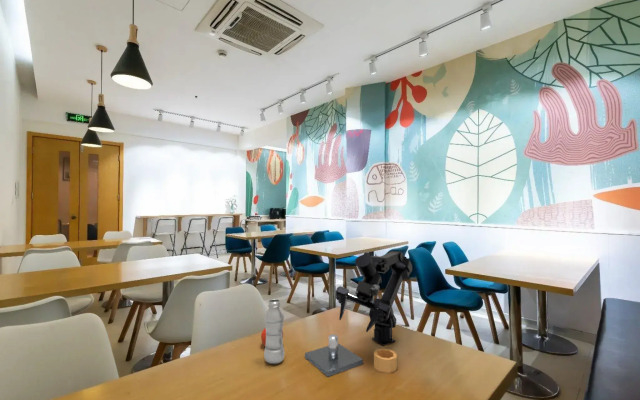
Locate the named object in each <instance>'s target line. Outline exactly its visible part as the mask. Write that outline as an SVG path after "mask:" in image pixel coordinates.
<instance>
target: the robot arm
mask: <svg viewBox="0 0 640 400" xmlns="http://www.w3.org/2000/svg"><path fill="white" fill-rule="evenodd" d="M354 262H355V265H356V267H357V270H358V272H359V273H360V274H359V275H361V276H362V277H363V279H362V280H359V281H358V284H357V287H356V290H355V295H353V294H351V293H350V289H348V288H346V287H344V286H341V285H340V286H337V288H336V289H335V300H336V301H338V304H340V309H339V321H341V320H342V319H343V316H344V314H345V311H346V307H347V303H348V302H349V301H351V302H353V303H356V304H358V305H360V306H363V307H365V308H367V309H369V310H368V311H369V312H368V314H369V323H368V325H367V327H366V329H365V332H366V333H368V331H370V329H372V327H374V329H373V337H372V338H371V340H372V341H373V342H376V343H378V344H380V345H382V346H386V345H390V344H392V343H395V342H396V339H394V338H393V329H395V328H396V326H397V318H396V316H395V314H394V308H393V304H394V302H395V299H396V297H397V295H398V293H399V290H400V288H401V285H402V283H403V281H405V280H406V279H407V278H409V276H410V274H411V273H412V272H413V264H412V262H411V260H410V259H409V258H408V257H406V256H405V255H404V252H403V251H397V250H392V251H390V252H388V253H386V254H384V255H383V254H382V255H381V256H379V255H371V253H370V252H364V253H363V254H361V255H359V256H358V257H357V258H356V259H355V261H354ZM389 270H391V276H390V278H389V280H388V283H387V285H386V287H385V289H384V291H383V294H382V295H381V298H375V299H374V297H375V296H376V297H377V296H378V295H379V291H380V288H381V287H380V284H382V282H383V281H382V276H381V274H380V273H382V274H386V273H387V272H388V271H389ZM373 300H374V301H373Z"/></svg>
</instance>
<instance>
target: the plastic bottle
mask: <svg viewBox="0 0 640 400" xmlns="http://www.w3.org/2000/svg"><path fill="white" fill-rule="evenodd" d="M267 306H268V309H267V310H266V312H265V313H264V317H263V319H264V321H263V322H264V326H265V328H266V345H264V346H265V348H264V353H263V356H264V360H265V361H266V363H267V364H271V365H277V364H279V363H280V364H281V362H283V361H284V359H285V358H284V357H285V349H284V348H285V347H284V342H283V340H284V339H282V331H283V330H284V328H283V327H284V321H285V315H284V312H283V311H282V309H281V308H280V307H281V300H280V299H277V298H275V299H270V300H268V305H267ZM265 328H264V329H265ZM283 332H284V331H283Z"/></svg>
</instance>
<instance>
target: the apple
mask: <svg viewBox="0 0 640 400" xmlns="http://www.w3.org/2000/svg"><path fill="white" fill-rule="evenodd" d="M283 338H284V331H282V339H283ZM260 339H261V342H262V344H263V345H264V346H265V345H266V328H263V330H262V332H261V335H260ZM283 340H284V339H283Z"/></svg>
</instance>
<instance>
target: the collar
mask: <svg viewBox="0 0 640 400" xmlns="http://www.w3.org/2000/svg"><path fill="white" fill-rule="evenodd" d="M397 358H398V357H397V352H395V351H394V350H391V349H389V348H378V349H376V350H374V352H373V368H374V369H375V370H377V371H379V372H380V373H386V374H387V373H388V374H391V373H393V372H396V371H397V369H398V368H397V366H398V365H397V362H398V360H397Z"/></svg>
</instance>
